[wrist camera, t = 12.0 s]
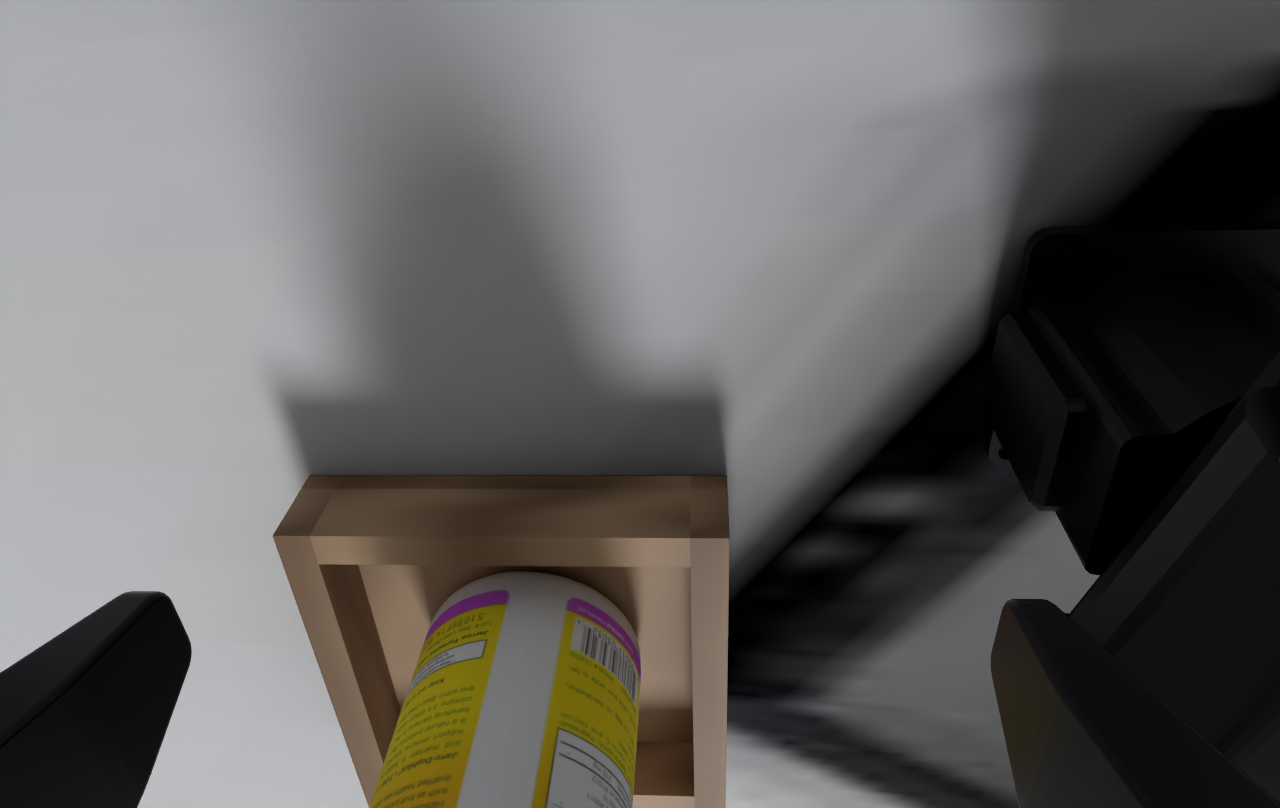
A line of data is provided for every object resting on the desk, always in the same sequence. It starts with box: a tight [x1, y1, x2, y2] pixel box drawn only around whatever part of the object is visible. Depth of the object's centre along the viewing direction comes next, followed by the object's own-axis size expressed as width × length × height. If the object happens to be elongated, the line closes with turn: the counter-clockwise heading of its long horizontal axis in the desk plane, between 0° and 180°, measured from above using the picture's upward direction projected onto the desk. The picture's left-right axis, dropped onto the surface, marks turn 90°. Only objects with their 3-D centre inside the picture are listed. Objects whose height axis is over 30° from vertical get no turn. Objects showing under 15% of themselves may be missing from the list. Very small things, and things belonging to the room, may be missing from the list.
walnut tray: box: [273, 476, 729, 808], centre depth 27 cm, size 12×12×3 cm
